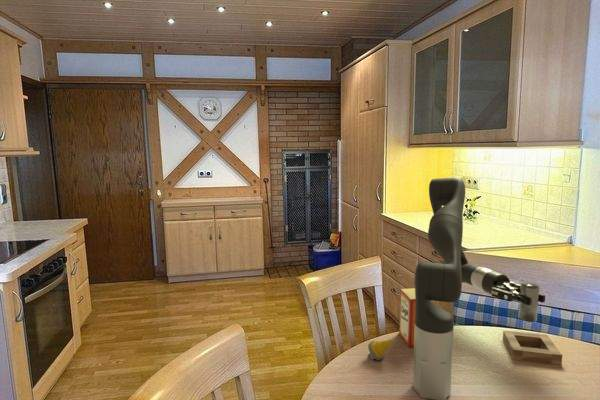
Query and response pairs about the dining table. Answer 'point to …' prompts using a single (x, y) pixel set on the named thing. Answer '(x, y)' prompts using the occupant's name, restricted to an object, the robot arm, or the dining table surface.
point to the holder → (542, 355)
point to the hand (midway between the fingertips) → (537, 300)
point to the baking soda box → (407, 315)
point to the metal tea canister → (529, 311)
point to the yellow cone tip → (378, 349)
